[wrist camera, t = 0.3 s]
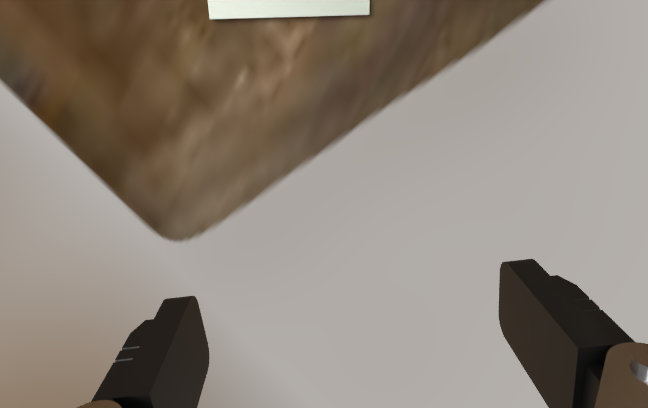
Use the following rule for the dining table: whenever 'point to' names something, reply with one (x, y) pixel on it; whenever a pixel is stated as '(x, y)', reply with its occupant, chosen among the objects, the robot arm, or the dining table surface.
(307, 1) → the sage mat
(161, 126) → the dining table surface
